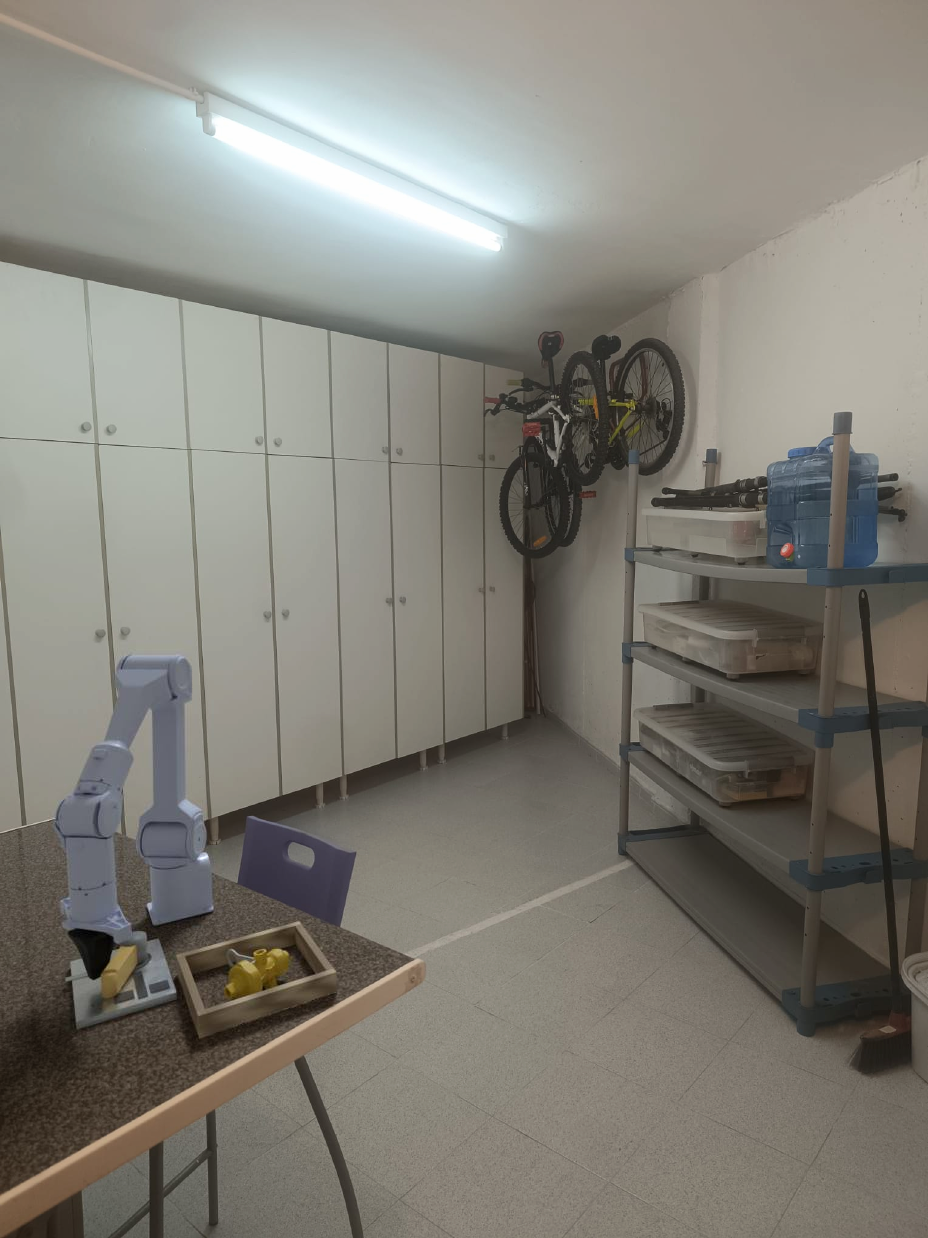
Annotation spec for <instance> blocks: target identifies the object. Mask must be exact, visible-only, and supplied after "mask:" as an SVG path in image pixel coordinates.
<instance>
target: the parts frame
mask: <svg viewBox="0 0 928 1238" xmlns="http://www.w3.org/2000/svg"><path fill="white" fill-rule="evenodd" d="M291 946H296V947H297V949H298V950H299V952H300V953H301V955H302V956H303V958H304V959H305V960H306V962H307V964H308V965H309V967H310V968H311V970H312V971H313V973H314V974H312V975H309V976H305V977H303V978H298V979H296V980H293V981H290V982H286V983H283V984H280V985H277V987H273V988H270V989H267V990H262V991H261V992H258V993H254V994H251V995H248V996H245V997H242V998H239V999H236V998H235V999H231V1000H229V1001H226V1002H223V1003H221V1004H217V1005H213V1006H210V1007H208V1008H205V1005H204V1003H203V1000H202V998H201V995H200V992H199V990H198V988H197V985H196V982H195V980H194V977H193V975H195V974H200V973H202V972H205V971H209V970H212V969H215V968H220V967H223V966H226V965H228V963H227V960H226V952H227V951H228V950H229V949H233V950H235V951H236V952H237V954H239V955H243V956H248V957H253V958H254V954H253V953H254V952H256V951H257V950H260V949H266V952H267V953H268V952H270V951H271V950H273V949H281V950H282V949H284V948H288V947H291ZM175 957H176V958H175V959H176V976H177V978H178V982H179V984H180V986H181V987H180V988H181V991H182V993H183V996H184V998H185V1002H186V1004H187V1007H188V1011H189V1014H190V1017H191V1018H192V1022H193V1025H194V1028H195V1030H196V1034H197V1036H199V1037H198V1039H199V1040H200V1039H203V1038H205V1037H204V1036H206V1037H209V1036H212V1035H215V1034H217V1033H216V1032H218V1033H221V1032H223V1031H222V1030H224V1029H227V1030H229V1029H228V1028H229V1027H233V1026H236V1025H238V1024H242V1023H244V1022H247V1021H251V1020H252V1019H256V1018H260V1017H263V1016H266V1015H269V1014H271V1013H274V1012H277V1011H279V1010H282V1009H284V1008H288V1007H292V1006H295V1005H299V1006H301V1005H300V1004H302V1003H304V1002H307V1001H311V1000H313V999H315V998H320V997H321V996H325V995H328V994H331V993H334V992H337V993H338V989H337V988H338V987H337V986H338V985H337V979H338V978H337V971H336V970H335V968H334V967H333V965H332V964H331V963H330V961H329V960H328V959H327V957H326V956H325V954H324V953H323V952H322V950H321V949H320V948H319V946H318V945H317V944H316V942H315V940H314V939H313V938H312V936H311V935H310V933H308V931H307V930H306V928H305V926H304V925H303V924H302V923H301V921H295V922H292V923H291V922H290V923H288V924H284V925H279V926H277V927H276V926H275V927H273V928H272V927H271V928H270V929H266V930H262V931H258V932H255V933H251V934H247V935H244V936H240V937H235V938H233V939H230V940H226V941H223V942H222V941H221V942H218V943H214V944H211V945H208V946H204V947H203V946H202V947H201V948H197V949H192V950H189V951H186V952H185V951H184V952H182V953H178V954H176V955H175ZM229 958H230V961H231V963H232V964H234V963H236V958H235V956H234V955H233V954H231V953H230V955H229ZM320 999H321V998H320ZM311 1002H312V1001H311ZM302 1005H303V1004H302ZM269 1016H270V1015H269ZM266 1017H267V1016H266ZM263 1018H264V1017H263ZM260 1019H261V1018H260ZM251 1022H252V1021H251ZM242 1025H243V1024H242ZM236 1027H237V1026H236ZM233 1028H234V1027H233ZM220 1031H221V1032H220ZM224 1031H225V1030H224ZM214 1033H215V1034H214Z"/></svg>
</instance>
